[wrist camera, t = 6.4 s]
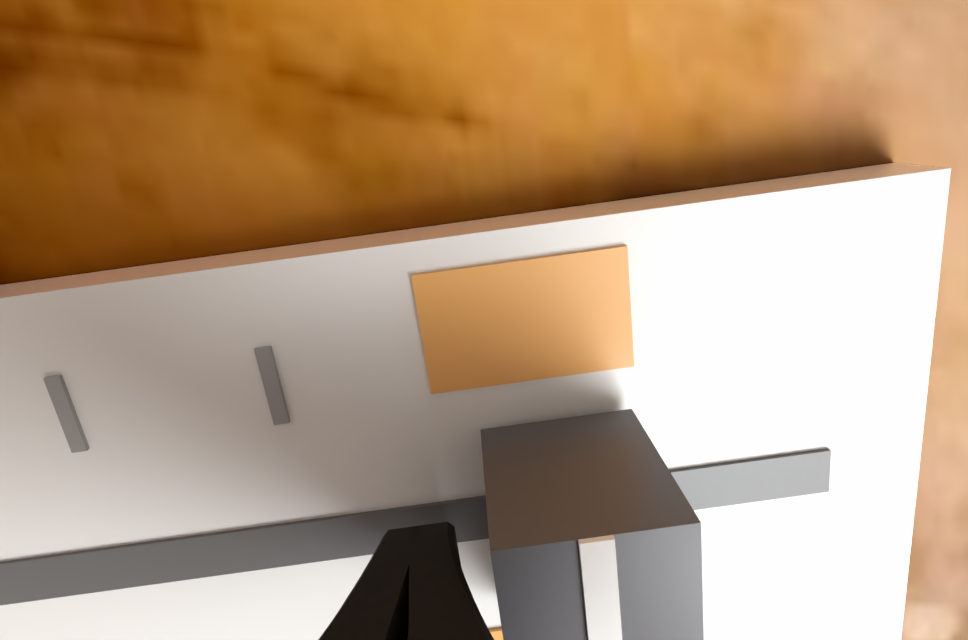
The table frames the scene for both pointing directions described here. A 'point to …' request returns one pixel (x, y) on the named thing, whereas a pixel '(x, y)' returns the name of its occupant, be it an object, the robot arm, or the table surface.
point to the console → (475, 406)
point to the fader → (590, 533)
